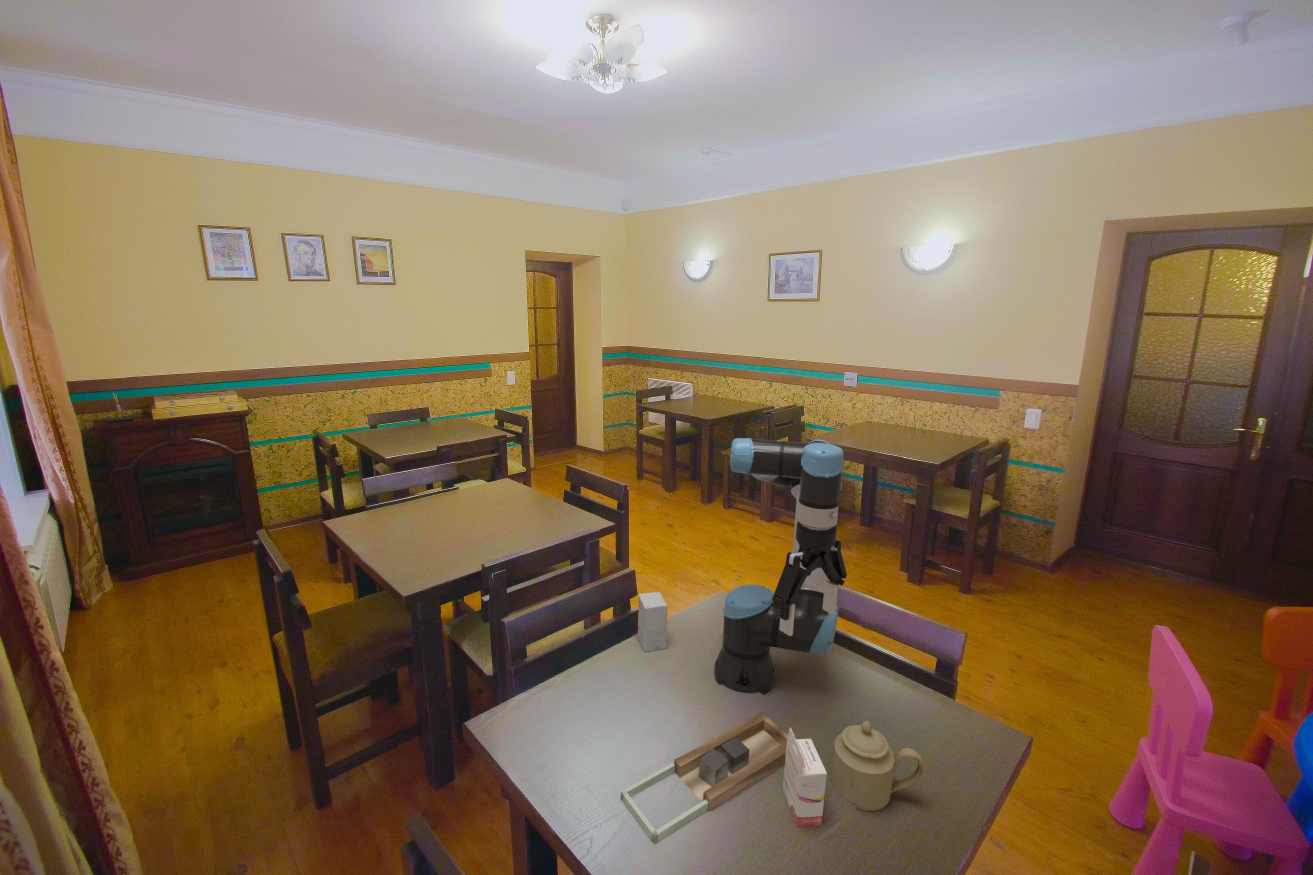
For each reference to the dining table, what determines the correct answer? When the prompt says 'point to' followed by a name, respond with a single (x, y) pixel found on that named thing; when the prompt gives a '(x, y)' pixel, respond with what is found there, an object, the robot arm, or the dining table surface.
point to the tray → (652, 833)
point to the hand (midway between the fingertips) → (808, 621)
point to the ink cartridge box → (804, 781)
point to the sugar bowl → (868, 767)
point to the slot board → (763, 758)
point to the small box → (652, 621)
